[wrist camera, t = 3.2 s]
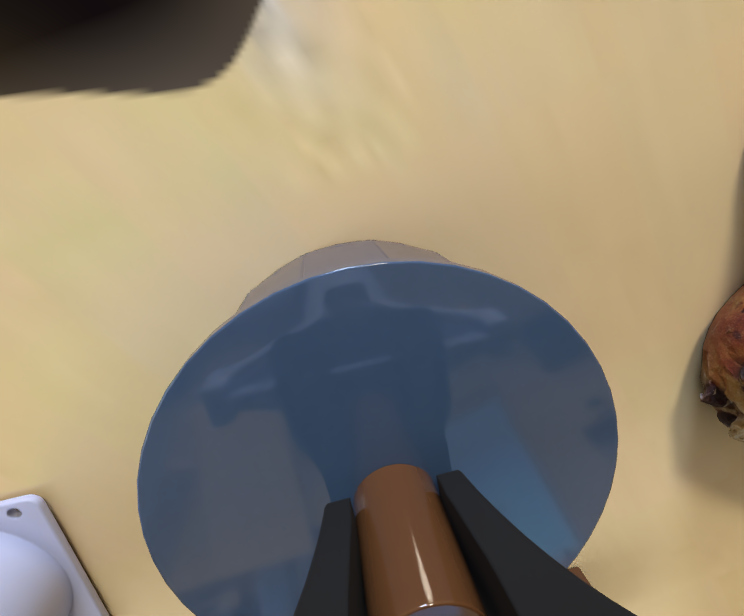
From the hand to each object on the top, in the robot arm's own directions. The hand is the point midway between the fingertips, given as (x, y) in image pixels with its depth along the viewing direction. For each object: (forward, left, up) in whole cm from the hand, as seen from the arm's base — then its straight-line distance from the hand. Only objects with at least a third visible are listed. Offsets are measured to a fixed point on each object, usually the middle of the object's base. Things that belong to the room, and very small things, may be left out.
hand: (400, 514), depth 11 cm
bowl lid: (0, 0, -1) cm, 1 cm away
